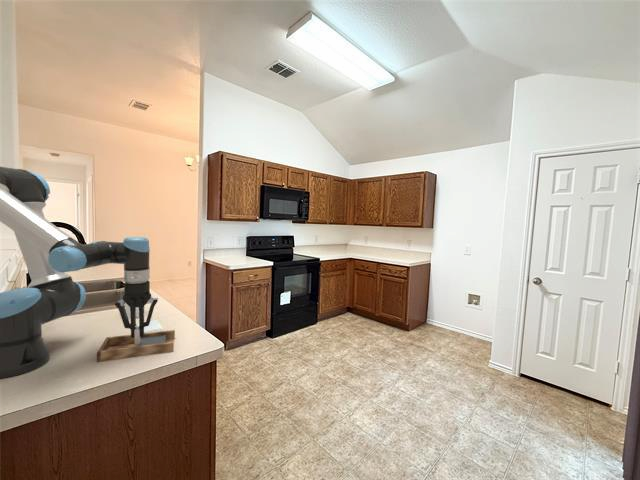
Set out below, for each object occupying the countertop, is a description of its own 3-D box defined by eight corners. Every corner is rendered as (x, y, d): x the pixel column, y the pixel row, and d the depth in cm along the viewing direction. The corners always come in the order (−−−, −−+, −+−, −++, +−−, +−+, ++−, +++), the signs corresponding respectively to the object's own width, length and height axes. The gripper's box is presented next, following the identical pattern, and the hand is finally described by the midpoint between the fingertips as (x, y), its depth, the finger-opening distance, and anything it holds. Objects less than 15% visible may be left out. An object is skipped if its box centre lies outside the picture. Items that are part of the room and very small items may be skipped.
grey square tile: (138, 353, 98) (138, 347, 98) (141, 343, 105) (141, 337, 105) (164, 350, 101) (164, 343, 101) (166, 340, 108) (166, 334, 108)
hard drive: (135, 323, 122) (141, 332, 113) (156, 319, 128) (164, 328, 119) (135, 326, 123) (141, 336, 113) (156, 322, 128) (164, 332, 119)
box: (96, 364, 91) (96, 352, 91) (106, 347, 102) (106, 337, 102) (173, 353, 101) (173, 342, 100) (174, 339, 111) (174, 329, 111)
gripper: (111, 284, 93) (113, 353, 95) (157, 282, 98) (157, 347, 100) (117, 279, 99) (118, 343, 101) (159, 277, 105) (159, 338, 107)
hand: (137, 345), depth 101 cm, fingers closed
